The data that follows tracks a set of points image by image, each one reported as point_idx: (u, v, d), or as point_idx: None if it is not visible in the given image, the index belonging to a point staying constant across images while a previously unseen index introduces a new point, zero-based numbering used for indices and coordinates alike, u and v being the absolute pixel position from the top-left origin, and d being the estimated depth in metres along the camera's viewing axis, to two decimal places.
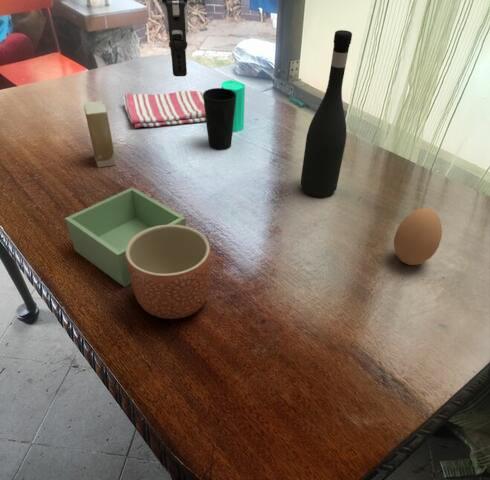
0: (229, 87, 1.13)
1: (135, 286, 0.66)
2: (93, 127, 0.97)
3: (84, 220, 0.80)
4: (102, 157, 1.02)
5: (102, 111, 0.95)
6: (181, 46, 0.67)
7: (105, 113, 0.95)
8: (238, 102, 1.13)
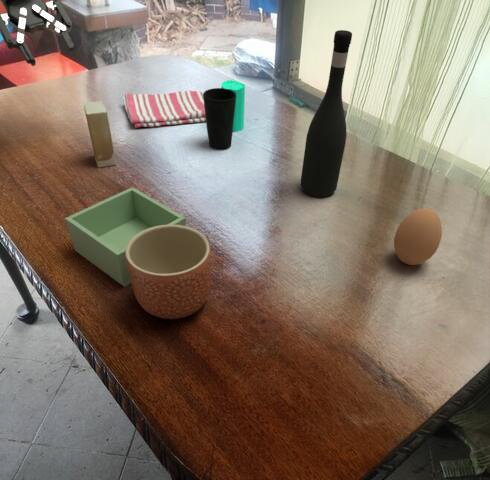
0: (229, 87, 1.13)
1: (135, 286, 0.66)
2: (93, 128, 0.97)
3: (84, 220, 0.80)
4: (102, 157, 1.02)
5: (102, 111, 0.95)
6: (71, 27, 0.98)
7: (105, 113, 0.95)
8: (238, 102, 1.13)
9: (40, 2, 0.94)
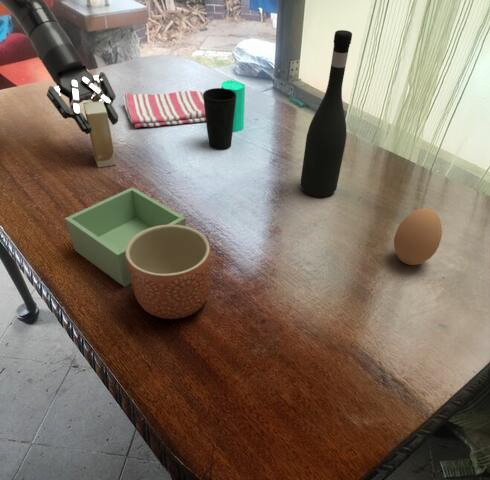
0: (229, 87, 1.13)
1: (135, 286, 0.66)
2: (93, 128, 0.97)
3: (84, 220, 0.80)
4: (102, 157, 1.02)
5: (102, 111, 0.95)
6: None
7: (105, 113, 0.95)
8: (238, 102, 1.13)
9: (87, 75, 0.97)
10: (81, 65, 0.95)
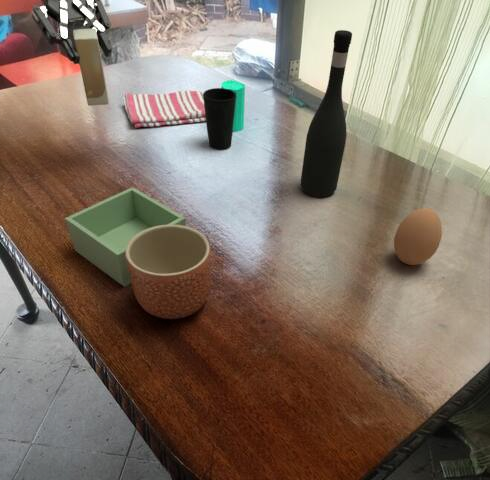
0: (229, 87, 1.13)
1: (135, 286, 0.66)
2: (81, 56, 0.86)
3: (84, 220, 0.80)
4: (93, 94, 0.91)
5: (92, 37, 0.85)
6: (108, 29, 0.91)
7: (95, 40, 0.85)
8: (238, 102, 1.13)
9: None
10: None
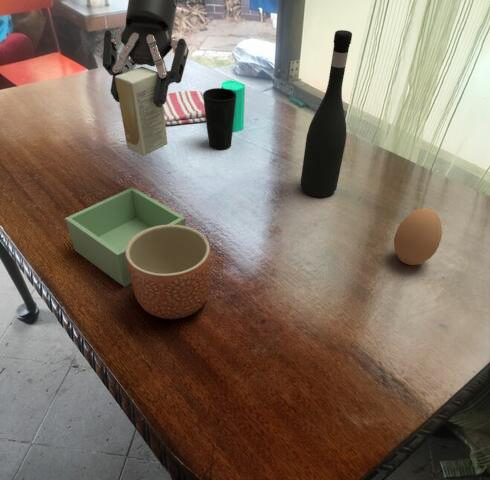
0: (229, 87, 1.13)
1: (135, 286, 0.66)
2: (120, 96, 0.74)
3: (84, 220, 0.80)
4: (130, 139, 0.79)
5: (130, 80, 0.71)
6: (179, 78, 0.74)
7: (130, 84, 0.70)
8: (238, 102, 1.13)
9: (162, 35, 0.72)
10: (155, 19, 0.71)
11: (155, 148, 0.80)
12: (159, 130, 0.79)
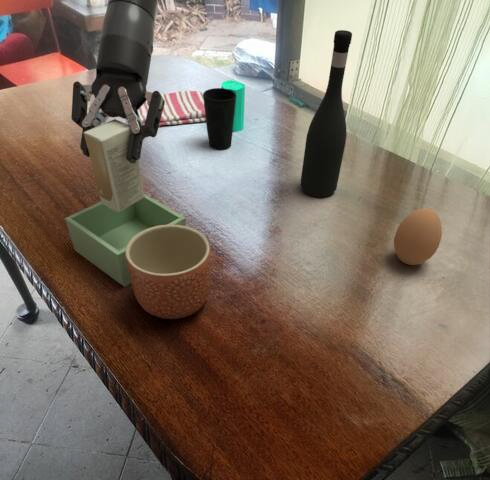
0: (229, 87, 1.13)
1: (135, 286, 0.66)
2: (90, 152, 0.68)
3: (84, 220, 0.80)
4: (103, 194, 0.73)
5: (99, 137, 0.65)
6: (154, 133, 0.68)
7: (99, 142, 0.65)
8: (238, 102, 1.13)
9: (135, 87, 0.67)
10: (126, 71, 0.65)
11: (131, 203, 0.75)
12: (135, 184, 0.74)
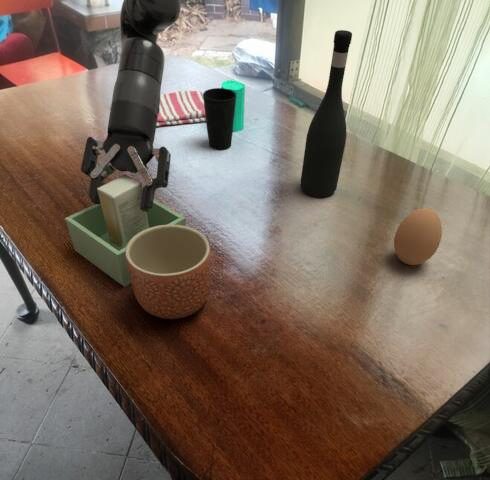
0: (229, 87, 1.13)
1: (135, 286, 0.66)
2: (103, 205, 0.75)
3: (84, 220, 0.80)
4: (114, 241, 0.80)
5: (111, 194, 0.72)
6: (165, 184, 0.74)
7: (111, 198, 0.72)
8: (238, 102, 1.13)
9: (143, 146, 0.73)
10: (135, 132, 0.72)
11: None
12: None
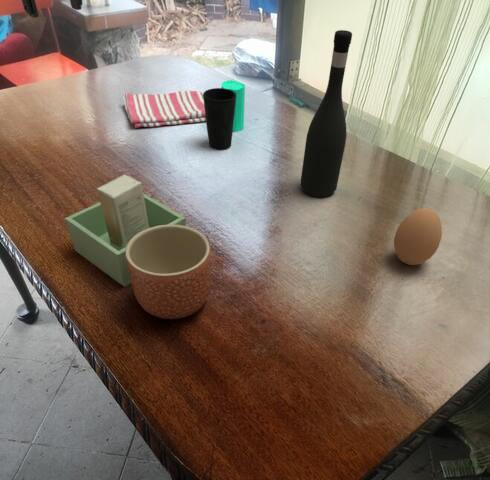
0: (229, 87, 1.13)
1: (135, 286, 0.66)
2: (103, 206, 0.75)
3: (84, 220, 0.80)
4: (114, 241, 0.80)
5: (111, 194, 0.72)
6: None
7: (111, 198, 0.72)
8: (238, 102, 1.13)
9: None
10: None
11: None
12: None
